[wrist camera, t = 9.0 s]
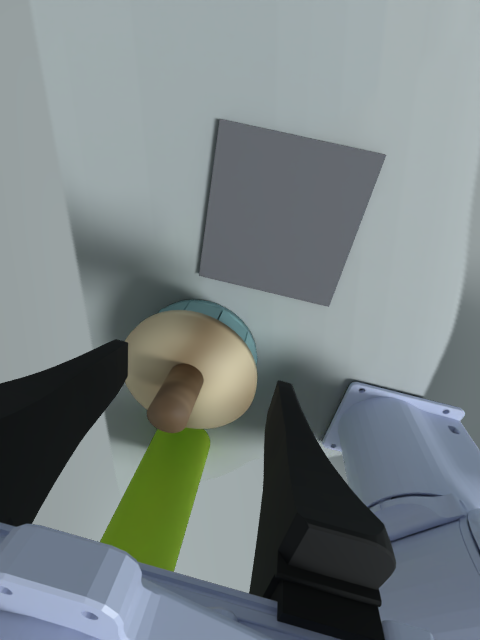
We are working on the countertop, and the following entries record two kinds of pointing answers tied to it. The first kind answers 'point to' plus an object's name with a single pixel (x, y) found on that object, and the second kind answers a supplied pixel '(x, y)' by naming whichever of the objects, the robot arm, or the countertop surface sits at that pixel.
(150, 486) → the soap dispenser
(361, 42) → the countertop surface
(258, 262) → the mat
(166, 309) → the bowl
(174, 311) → the lid
